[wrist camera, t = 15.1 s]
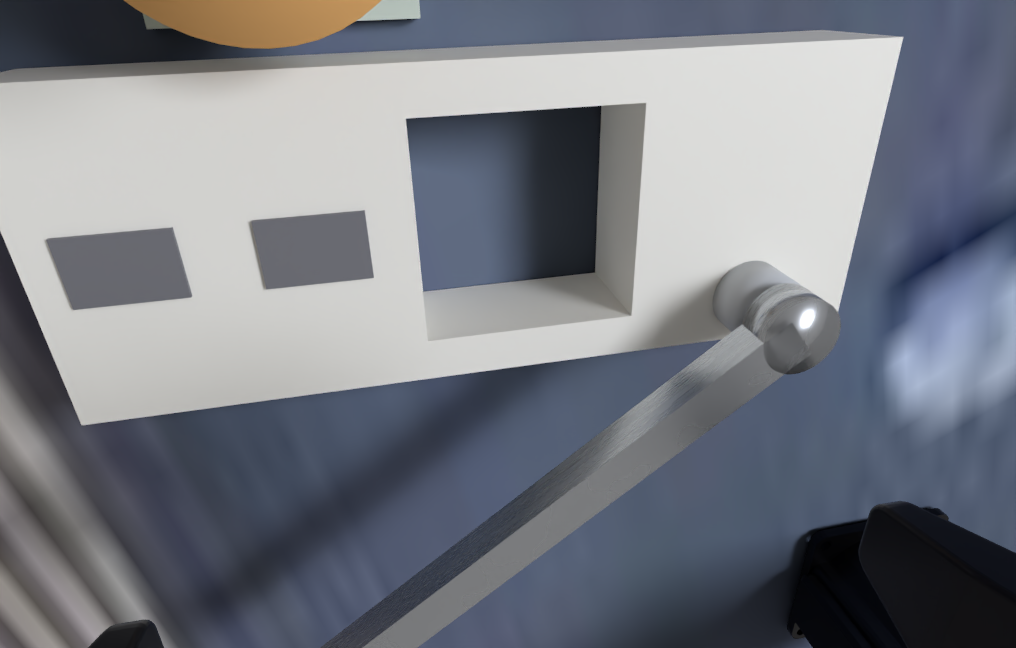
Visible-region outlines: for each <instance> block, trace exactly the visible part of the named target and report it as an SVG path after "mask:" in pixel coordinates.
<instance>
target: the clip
mask: <svg viewBox="0 0 1016 648" xmlns="http://www.w3.org/2000/svg"><path fill="white" fill-rule="evenodd" d="M840 327H841V322H840V317H839V314H838V312H837V310H836V309H835V308H834V307H833V306H832V305H831V304H829V303H828V302H826V301H825V300H823V299H822V298H820V297H818V296H817V295H815V294H814V293H812V292H811V291H809V290H808V289H806V288H805V287H803V286H801V285H799V284H795V283H784V284H779V285H776V286H773V287H771V288H769V289H767V290H766V291H764V292H763V293H761V294H760V295H759V296H758V297H757V298H756V299H755V300H754V301H753V302H752V303H751V305H750V306H749V308H748V309H747V311H746V313H745V315H744V318H743V321H742V325H740V326H739V327H738V328H736V329H735V330H734V331H733V332H731V333H730V334H729V335H727V336H726V337H725V338H723V339H722V340H721V341H719V342H718V343H717V344H716V345H714V346H713V347H712V348H710V349H709V350H708V351H706V352H705V353H704V354H703V355H701V356H700V357H699V358H697V359H696V360H695V361H693V362H692V363H691V364H689V365H688V366H687V367H686V368H684V369H683V370H682V371H680V372H679V373H678V374H676V375H675V376H674V377H673V378H671V379H670V380H669V381H667V382H666V383H665V384H663V385H662V386H661V387H660V388H658V389H657V390H656V391H654V392H653V393H652V394H650V395H649V396H648V397H646V398H645V399H644V400H643V401H641V402H640V403H639V404H637V405H636V406H635V407H633V408H632V409H631V410H630V411H628V412H627V413H626V414H624V415H623V416H622V417H620V418H619V419H618V420H617V421H615V422H614V423H613V424H611V425H610V426H609V427H607V428H606V429H605V430H603V431H602V432H601V433H600V434H598V435H597V436H596V437H594V438H593V439H592V440H590V441H589V442H588V443H587V444H585V445H584V446H583V447H581V448H580V449H579V450H577V451H576V452H575V453H573V454H572V455H571V456H570V457H568V458H567V459H566V460H564V461H563V462H562V463H560V464H559V465H558V466H557V467H555V468H554V469H553V470H551V471H550V472H549V473H547V474H546V475H545V476H544V477H542V478H541V479H540V480H538V481H537V482H536V483H534V484H533V485H532V486H530V487H529V488H528V489H527V490H525V491H524V492H523V493H521V494H520V495H519V496H517V497H516V498H515V499H514V500H512V501H511V502H510V503H508V504H507V505H506V506H504V507H503V508H502V509H501V510H499V511H498V512H497V513H495V514H494V515H493V516H491V517H490V518H489V519H487V520H486V521H485V522H484V523H482V524H481V525H480V526H478V527H477V528H476V529H474V530H473V531H472V532H471V533H469V534H468V535H467V536H465V537H464V538H463V539H461V540H460V541H459V542H457V543H456V544H455V545H454V546H452V547H451V548H450V549H448V550H447V551H446V552H444V553H443V554H442V555H441V556H439V557H438V558H437V559H435V560H434V561H433V562H431V563H430V564H429V565H428V566H426V567H425V568H424V569H422V570H421V571H420V572H418V573H417V574H416V575H414V576H413V577H412V578H411V579H409V580H408V581H407V582H405V583H404V584H403V585H401V586H400V587H399V588H398V589H396V590H395V591H394V592H392V593H391V594H390V595H388V596H387V597H386V598H385V599H383V600H382V601H381V602H379V603H378V604H377V605H375V606H374V607H373V608H371V609H370V610H369V611H368V612H366V613H365V614H364V615H362V616H361V617H360V618H358V619H357V620H356V621H355V622H353V623H352V624H351V625H349V626H348V627H347V628H345V629H344V630H343V631H341V632H340V633H339V634H338V635H336V636H335V637H334V638H332V639H331V640H330V641H328V642H327V643H326V644H325V645H323V646H322V647H321V648H417V647H419V646H420V645H421V644H423V643H424V642H425V641H427V640H428V639H429V638H431V637H432V636H433V635H435V634H436V633H437V632H439V631H440V630H441V629H443V628H444V627H445V626H447V625H448V624H449V623H451V622H452V621H454V620H455V619H456V618H458V617H459V616H460V615H462V614H463V613H464V612H466V611H467V610H468V609H470V608H471V607H472V606H474V605H475V604H476V603H478V602H479V601H480V600H482V599H483V598H484V597H486V596H487V595H488V594H490V593H491V592H492V591H494V590H495V589H496V588H498V587H499V586H501V585H502V584H503V583H505V582H506V581H507V580H509V579H510V578H511V577H513V576H514V575H515V574H517V573H518V572H519V571H521V570H522V569H523V568H525V567H526V566H527V565H529V564H530V563H531V562H533V561H534V560H535V559H537V558H538V557H539V556H541V555H542V554H543V553H545V552H546V551H548V550H549V549H550V548H552V547H553V546H554V545H556V544H557V543H558V542H560V541H561V540H562V539H564V538H565V537H566V536H568V535H569V534H570V533H572V532H573V531H574V530H576V529H577V528H578V527H580V526H581V525H582V524H584V523H585V522H586V521H588V520H589V519H591V518H592V517H593V516H595V515H596V514H597V513H599V512H600V511H601V510H603V509H604V508H605V507H607V506H608V505H609V504H611V503H612V502H613V501H615V500H616V499H617V498H619V497H620V496H621V495H623V494H624V493H625V492H627V491H628V490H629V489H631V488H632V487H633V486H635V485H636V484H638V483H639V482H640V481H642V480H643V479H644V478H646V477H647V476H648V475H650V474H651V473H652V472H654V471H655V470H656V469H658V468H659V467H660V466H662V465H663V464H664V463H666V462H667V461H668V460H670V459H671V458H672V457H674V456H675V455H676V454H678V453H679V452H681V451H682V450H683V449H685V448H686V447H687V446H689V445H690V444H691V443H693V442H694V441H695V440H697V439H698V438H699V437H701V436H702V435H703V434H705V433H706V432H707V431H709V430H710V429H711V428H713V427H714V426H715V425H717V424H718V423H719V422H721V421H722V420H723V419H725V418H726V417H728V416H729V415H730V414H732V413H733V412H734V411H736V410H737V409H738V408H740V407H741V406H742V405H744V404H745V403H746V402H748V401H749V400H750V399H752V398H753V397H754V396H756V395H757V394H758V393H760V392H761V391H762V390H764V389H765V388H766V387H768V386H769V385H770V384H772V383H773V382H775V381H776V380H777V379H779V378H780V377H781V376H783V375H784V374H796V373H800V372H804V371H806V370H808V369H810V368H812V367H814V366H815V365H817V364H818V363H820V362H821V361H822V360H823V359H824V358H825V357H826V356H827V355H828V354H829V353H830V351H831V350H832V349H833V347H834V345H835V344H836V342H837V339H838V337H839V334H840Z"/></svg>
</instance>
